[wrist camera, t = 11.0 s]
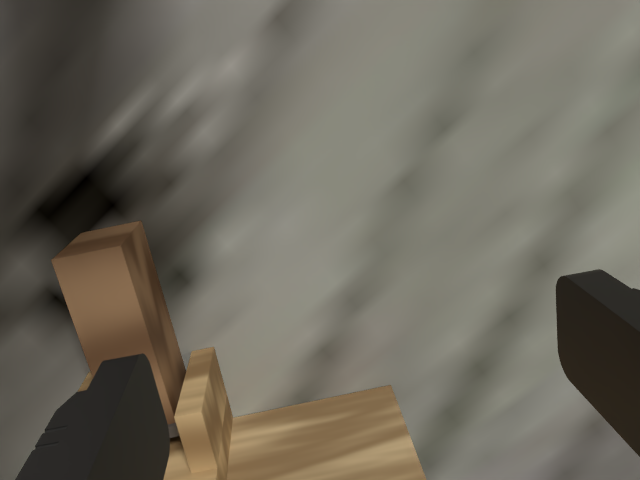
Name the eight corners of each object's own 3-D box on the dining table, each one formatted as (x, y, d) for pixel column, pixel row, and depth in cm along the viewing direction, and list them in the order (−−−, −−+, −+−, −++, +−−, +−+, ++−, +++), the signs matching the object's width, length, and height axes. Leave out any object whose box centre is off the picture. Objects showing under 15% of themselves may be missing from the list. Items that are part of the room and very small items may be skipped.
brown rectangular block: (79, 233, 38) (47, 262, 33) (142, 220, 38) (121, 247, 33) (135, 398, 42) (114, 449, 36) (192, 386, 42) (180, 435, 37)
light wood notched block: (88, 372, 41) (1, 522, 28) (378, 313, 42) (430, 432, 28) (120, 464, 43) (55, 643, 30) (394, 407, 44) (448, 558, 31)
